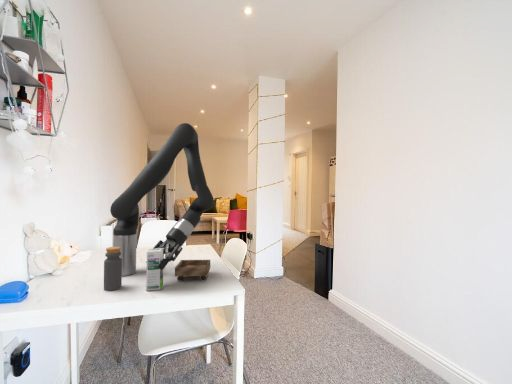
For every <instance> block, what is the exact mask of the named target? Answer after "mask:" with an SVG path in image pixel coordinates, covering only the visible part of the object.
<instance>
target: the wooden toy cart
mask: <svg viewBox="0 0 512 384" xmlns="http://www.w3.org/2000/svg"><path fill="white" fill-rule="evenodd" d="M210 269H211V259H180V261H179V262H178V264H176V266H175V268H174V277H177V281H179V282H182V281H183V280H184V278H185V277H199V280H200V281H202V282H203V281H205V280H206V279H207V277H208V275H209V273H210Z"/></svg>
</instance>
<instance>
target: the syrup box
mask: <svg viewBox="0 0 512 384" xmlns="http://www.w3.org/2000/svg"><path fill="white" fill-rule="evenodd" d="M164 255H165V254H164V248H158V249H153V248H148V249H147V251H146V261H147V263H146V283H145V284H146V285H145V286H146V288H145V290H146V291H147V292H148V291H159V290H163V287H164V270H165V268H164V269H163V270H160V269H159V268H158V265H159V264H160V263H161V261H162V260H163V259H164V258H165V256H164Z"/></svg>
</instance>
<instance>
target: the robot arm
mask: <svg viewBox="0 0 512 384" xmlns="http://www.w3.org/2000/svg"><path fill="white" fill-rule="evenodd" d="M199 147H200V146H199V135H198V132H197V130H195V128H194V127H193V125H191V124H190V123H189V122H188V123H187V122H183V123H180V124H179V125H177V126H175V128H174V129H173V131H172V133H171V134H170V136H169V137H168V139H167V140H166V142H165V143H164V144H163V145H162V146H161V148H159V150H158V151H157V152H156V153H155V155H154V156H152V158H151V159H150V160H149V161H148V163H147V164H146V165H145V166H144V167H143V169H141V171H140V172H139V173H138V175H137V176H136V177H135V178H134V180H133V181H132V182H131V184H130V185H129V186H128V187H126V189H125V190H124V191H123V192H122V193H121V194H120V195H119V196H118V197H117V198H116V199H115V200H114V201H113V202H112V204H111V205H110V209H109V210H110V214H111V216H112V217H113V218H114V219H116V225H115V227H114V228H113V229H112V230H113V233H112V238H113V239H112V247H120V252H121V255H120V256H119V257H120V258H121V259H122V277H127V276H131V275H134V274H135V273H136V272H137V230H138V227H139V220H140V219H139V217H140V214H139V213H140V207H139V203H140V202H141V200H142V199H143V198H144V197H145V196H146V195H148V194H149V193H150V192H151V191H153V190H154V189H155V188H156V187H158V186H159V185H160V184H161V182H162V181H163V180H164V179H165V178H166V176H168V174H169V173H170V171H171V169H172V168H173V165H174V162H175V160H176V158H177V157H178V155H179V154H180V153H181V151H182V150H183V151H184V154H185V157H186V158H185V159H186V164H187V165H186V166H187V175H188V180H189V185H190V188H191V190H192V191H193V192H195V193H196V196H197V197H196V198H195V199H193V201H192V202H191V203H190V205H189V207H187V208H188V209H187V210H186V212H184V213H183V215H182V216H181V218H180V219H179V220H178V221H177V222H176V223H175V224H174V225H173V226H172V228H171V229H170V230H169V231H168V232H167V234H166V235H165V238H166V239H165V241H163V240H161V239H160V240H159V241H158V242H157V243H156V245H154V247H153V248H152V249H158V248H164V255H165V256H164V259H163V260H162V261H161V263H160V264H159V265H158V268H159V269H160V270H163V269H164V270H165V268H166V266H167V265H168V264H169V263H170V262H175V261H176V259H177V258H178V257H179V255H180V254H181V252H182V251H183V247H182V246H184V244H185V242H186V241H187V239H189V238H190V236H191V235H192V233H193V231H194V229H195V228H196V227H197V226H198V224H199V223H200V222H201V216H202V215H203V213H205V212H206V211H210V210H211V209H212V208H213V207H214V206H215V205H214V203H215V201H214V197H213V194H212V192H211V189H210V188H209V186H208V183H207V179H206V176H205V175H206V174H205V172H204V168H203V164H202V159H201V156H200V148H199ZM145 263H146V264H147V260H146V262H145ZM164 270H163V271H164Z"/></svg>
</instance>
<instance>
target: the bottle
mask: <svg viewBox="0 0 512 384" xmlns="http://www.w3.org/2000/svg"><path fill="white" fill-rule="evenodd" d="M105 249H106V253H105V254H104V255H105V256H104V257H106V259H105V260H104V261H103V291H108V292H110V291H111V292H112V291H117V290H120V289H121V288H122V281H123V276H122V259H121V258H120V257H119V256H120V255H121V252H120V247H113V246H110V247H106V248H105Z"/></svg>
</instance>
